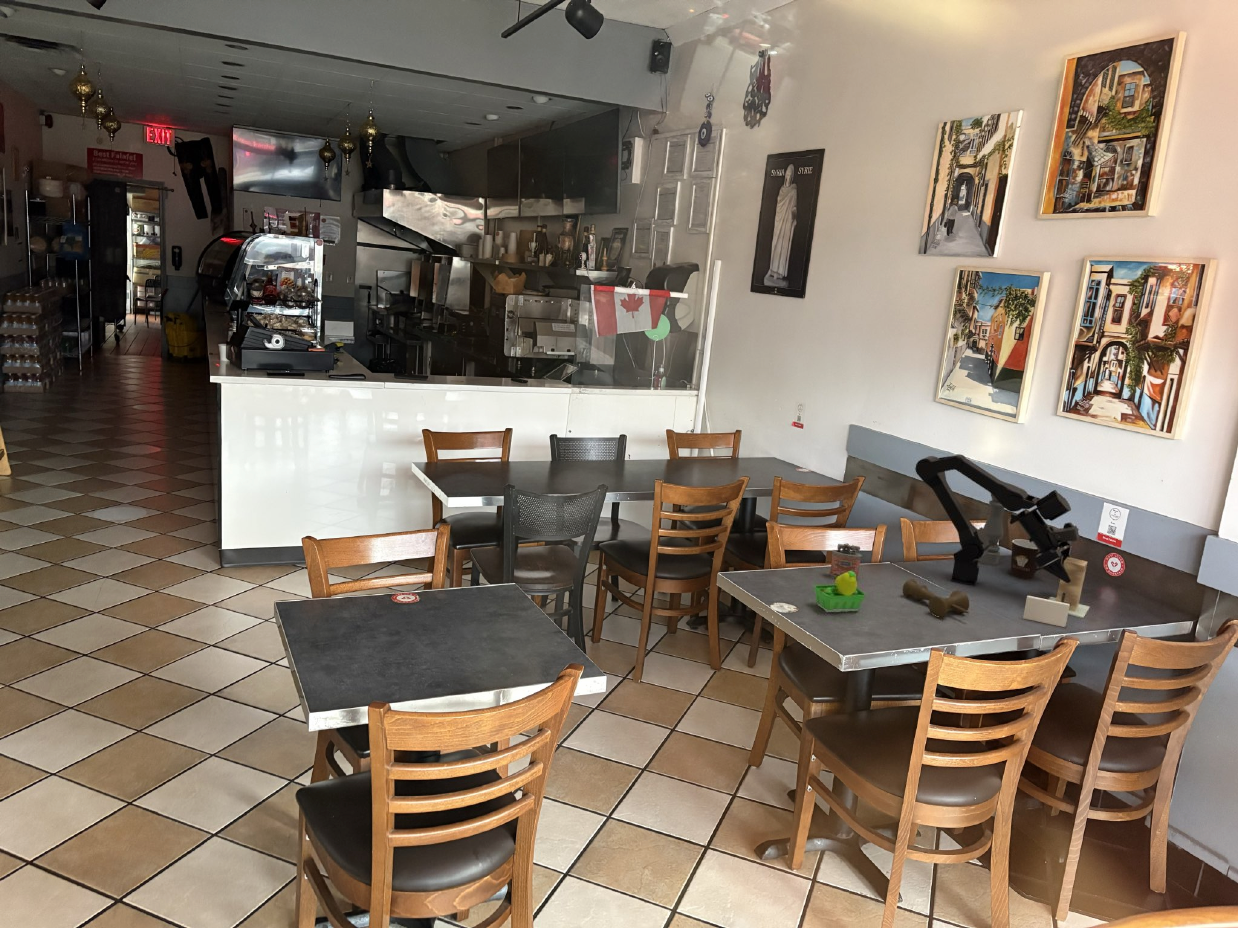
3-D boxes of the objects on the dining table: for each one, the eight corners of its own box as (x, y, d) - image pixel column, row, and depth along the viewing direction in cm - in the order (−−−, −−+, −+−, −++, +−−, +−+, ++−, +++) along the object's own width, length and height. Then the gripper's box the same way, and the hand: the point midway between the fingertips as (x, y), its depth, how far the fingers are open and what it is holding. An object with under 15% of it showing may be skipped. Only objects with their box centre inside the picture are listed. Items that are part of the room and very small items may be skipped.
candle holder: (999, 565, 276) (1014, 487, 270) (978, 563, 277) (993, 485, 271) (995, 559, 282) (1010, 483, 276) (975, 556, 283) (989, 480, 277)
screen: (1023, 618, 234) (1027, 596, 233) (1023, 616, 235) (1027, 595, 234) (1065, 627, 230) (1069, 605, 229) (1064, 625, 231) (1069, 603, 230)
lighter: (828, 577, 253) (833, 543, 251) (829, 573, 256) (834, 540, 254) (857, 582, 251) (862, 548, 248) (858, 578, 254) (863, 545, 252)
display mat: (1042, 607, 243) (1043, 605, 243) (1050, 597, 251) (1050, 596, 251) (1083, 618, 238) (1083, 616, 237) (1089, 608, 246) (1089, 606, 245)
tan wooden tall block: (1054, 606, 244) (1064, 561, 241) (1058, 601, 248) (1067, 556, 245) (1074, 611, 241) (1084, 566, 238) (1078, 606, 245) (1087, 561, 242)
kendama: (918, 594, 247) (979, 620, 230) (893, 600, 242) (954, 627, 225) (921, 574, 245) (982, 598, 229) (896, 579, 240) (957, 604, 224)
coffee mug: (999, 571, 270) (1005, 540, 268) (1020, 569, 274) (1026, 538, 272) (1031, 585, 260) (1038, 553, 258) (1052, 583, 264) (1058, 551, 261)
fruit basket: (848, 601, 236) (854, 561, 233) (867, 615, 227) (873, 573, 225) (810, 603, 232) (815, 562, 229) (827, 617, 224) (833, 574, 221)
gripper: (1056, 521, 234) (1094, 572, 230) (1070, 508, 249) (1105, 556, 245) (1019, 541, 240) (1055, 592, 237) (1034, 528, 255) (1068, 575, 251)
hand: (1072, 578), depth 242 cm, fingers open, 9 cm apart
